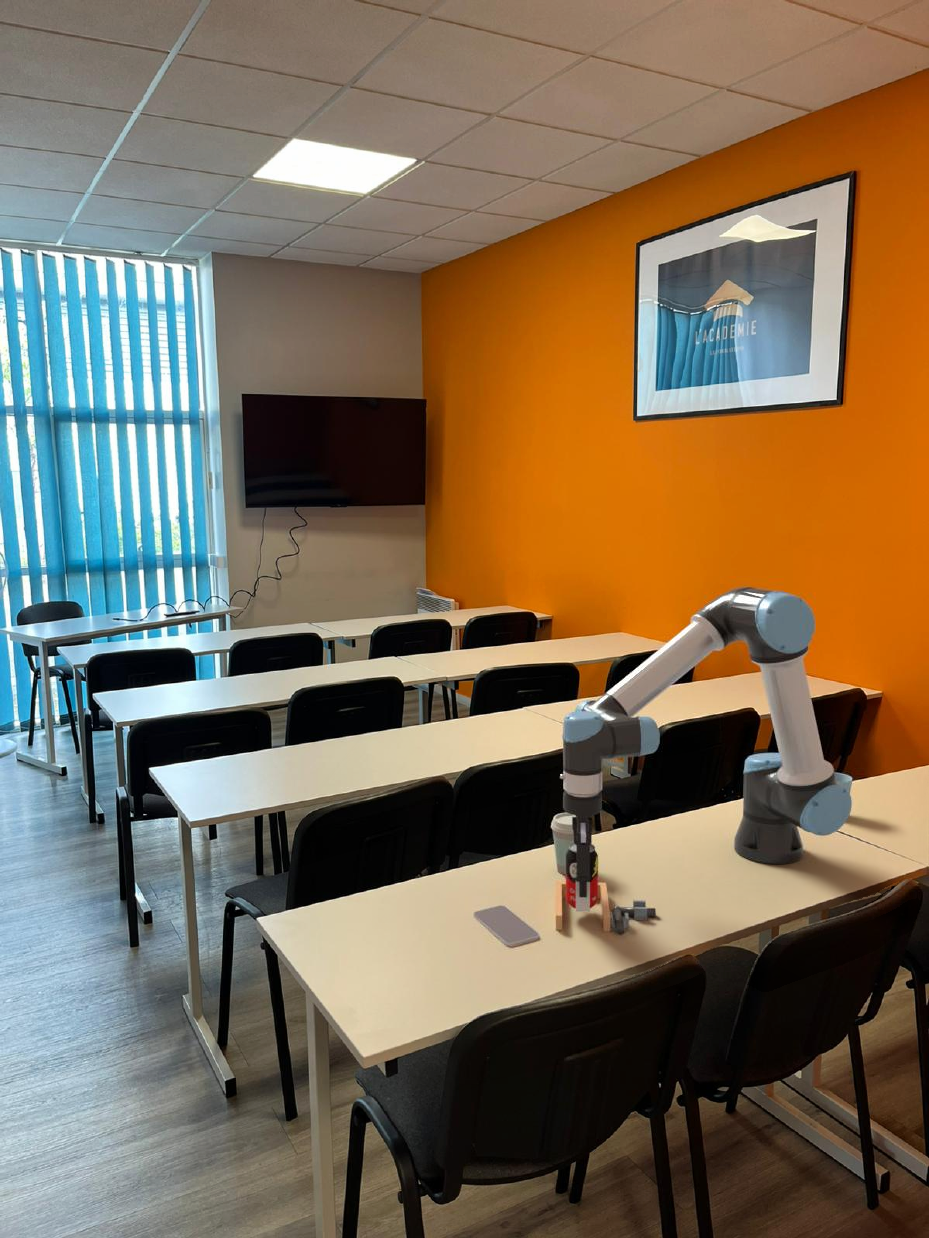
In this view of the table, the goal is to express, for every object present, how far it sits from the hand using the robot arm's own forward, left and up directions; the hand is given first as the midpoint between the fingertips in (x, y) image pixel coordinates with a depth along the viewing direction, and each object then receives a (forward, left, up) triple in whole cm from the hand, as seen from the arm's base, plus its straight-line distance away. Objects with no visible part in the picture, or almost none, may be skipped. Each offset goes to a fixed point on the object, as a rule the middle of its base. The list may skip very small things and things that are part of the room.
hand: (582, 902), depth 178 cm
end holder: (0, -2, -3) cm, 3 cm away
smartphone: (+15, +5, -4) cm, 16 cm away
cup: (-66, -59, -3) cm, 89 cm away
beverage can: (0, 0, -1) cm, 1 cm away
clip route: (-10, +2, -3) cm, 10 cm away
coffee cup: (+2, -22, -3) cm, 22 cm away
